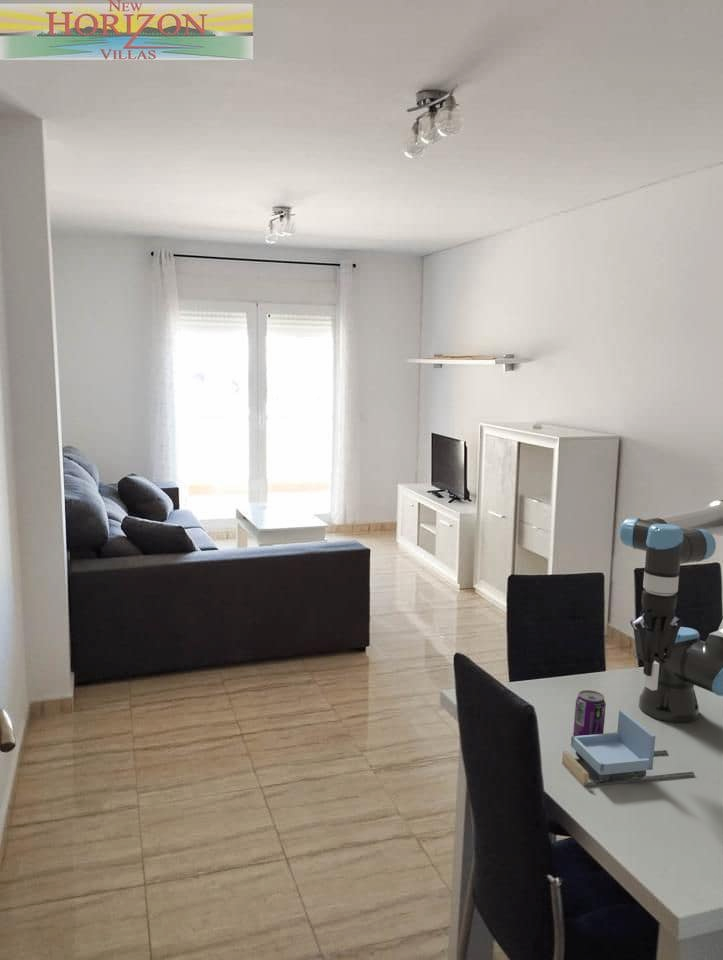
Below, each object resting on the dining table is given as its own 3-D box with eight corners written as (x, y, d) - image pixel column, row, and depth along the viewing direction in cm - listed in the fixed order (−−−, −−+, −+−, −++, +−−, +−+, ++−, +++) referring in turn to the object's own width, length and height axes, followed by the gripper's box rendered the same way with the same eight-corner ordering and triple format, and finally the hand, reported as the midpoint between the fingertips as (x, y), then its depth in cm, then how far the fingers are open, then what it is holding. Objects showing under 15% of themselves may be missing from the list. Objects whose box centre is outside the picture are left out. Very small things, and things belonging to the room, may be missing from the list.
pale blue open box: (619, 750, 182) (622, 710, 180) (651, 779, 169) (655, 735, 168) (570, 755, 179) (573, 713, 177) (599, 785, 166) (602, 740, 165)
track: (665, 752, 184) (666, 740, 183) (694, 775, 173) (695, 763, 173) (561, 762, 177) (562, 750, 177) (584, 787, 167) (585, 774, 166)
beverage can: (604, 749, 184) (607, 702, 182) (573, 745, 185) (577, 699, 184) (600, 736, 191) (604, 690, 189) (571, 732, 192) (575, 687, 191)
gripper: (673, 585, 180) (664, 679, 184) (625, 587, 177) (617, 683, 180) (694, 594, 173) (684, 692, 177) (645, 597, 170) (636, 696, 173)
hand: (650, 687), depth 178 cm, fingers closed
